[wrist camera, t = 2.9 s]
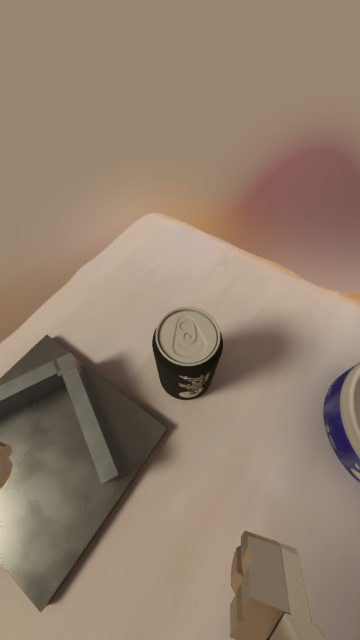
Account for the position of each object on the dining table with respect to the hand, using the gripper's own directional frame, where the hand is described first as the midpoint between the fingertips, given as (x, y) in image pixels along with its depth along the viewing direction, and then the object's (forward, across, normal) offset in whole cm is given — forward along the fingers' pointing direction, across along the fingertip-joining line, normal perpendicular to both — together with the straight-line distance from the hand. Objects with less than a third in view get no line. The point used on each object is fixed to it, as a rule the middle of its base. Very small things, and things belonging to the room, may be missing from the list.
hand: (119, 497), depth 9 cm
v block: (+15, -13, -17) cm, 26 cm away
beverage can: (+24, 0, -9) cm, 25 cm away
